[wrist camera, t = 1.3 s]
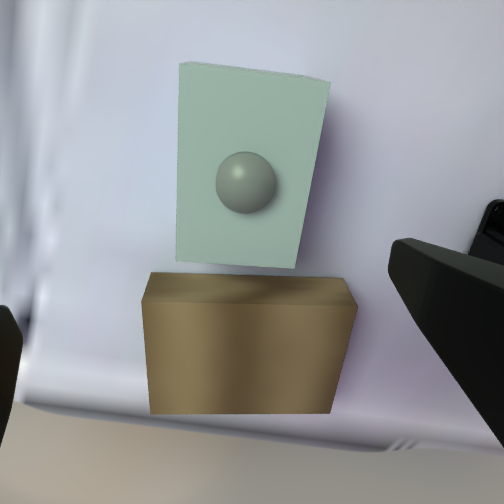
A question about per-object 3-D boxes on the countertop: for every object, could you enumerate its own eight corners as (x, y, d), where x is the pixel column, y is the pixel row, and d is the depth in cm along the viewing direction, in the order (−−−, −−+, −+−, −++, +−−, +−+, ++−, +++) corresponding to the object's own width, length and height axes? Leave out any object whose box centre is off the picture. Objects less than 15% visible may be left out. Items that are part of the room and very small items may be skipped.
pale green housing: (304, 75, 18) (335, 83, 13) (280, 225, 22) (296, 275, 17) (190, 61, 17) (177, 63, 12) (186, 217, 21) (174, 267, 16)
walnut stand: (342, 278, 23) (357, 306, 21) (319, 379, 28) (330, 413, 25) (151, 272, 22) (141, 301, 20) (157, 378, 26) (150, 414, 24)
